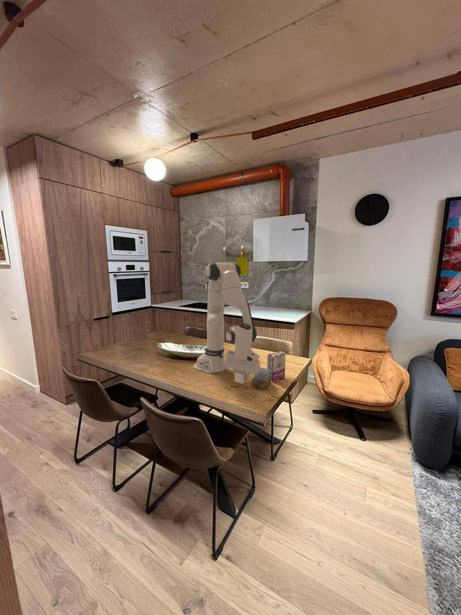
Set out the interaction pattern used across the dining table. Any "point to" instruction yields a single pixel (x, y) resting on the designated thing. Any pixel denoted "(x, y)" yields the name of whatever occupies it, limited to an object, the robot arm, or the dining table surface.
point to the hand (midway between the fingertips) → (241, 377)
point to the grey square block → (263, 374)
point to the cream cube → (240, 376)
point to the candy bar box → (276, 365)
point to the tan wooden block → (261, 383)
